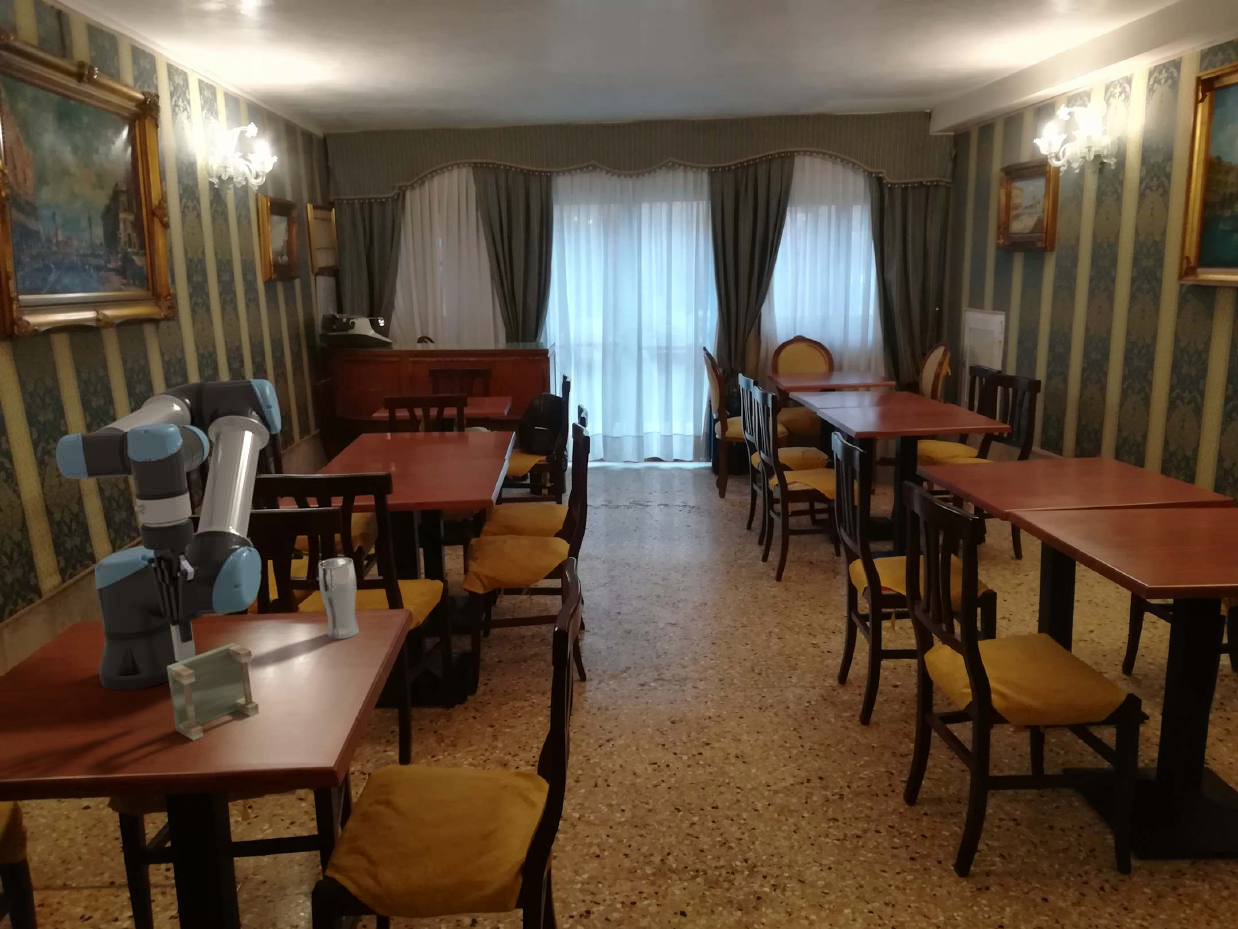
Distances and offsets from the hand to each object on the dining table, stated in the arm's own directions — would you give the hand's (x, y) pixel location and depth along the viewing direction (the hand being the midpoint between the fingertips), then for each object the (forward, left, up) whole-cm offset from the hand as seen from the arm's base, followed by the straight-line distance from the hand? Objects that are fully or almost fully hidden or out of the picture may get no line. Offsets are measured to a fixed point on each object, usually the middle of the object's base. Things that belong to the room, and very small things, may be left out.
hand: (185, 658), depth 147 cm
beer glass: (-7, +34, -9) cm, 36 cm away
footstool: (+8, 0, -9) cm, 12 cm away
